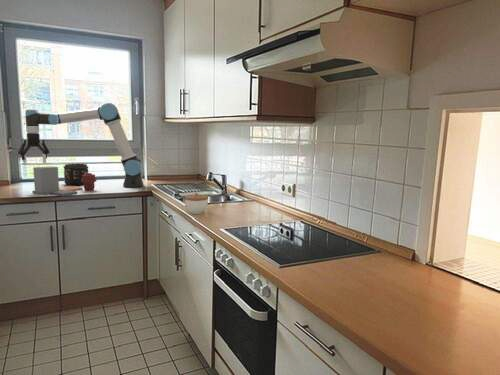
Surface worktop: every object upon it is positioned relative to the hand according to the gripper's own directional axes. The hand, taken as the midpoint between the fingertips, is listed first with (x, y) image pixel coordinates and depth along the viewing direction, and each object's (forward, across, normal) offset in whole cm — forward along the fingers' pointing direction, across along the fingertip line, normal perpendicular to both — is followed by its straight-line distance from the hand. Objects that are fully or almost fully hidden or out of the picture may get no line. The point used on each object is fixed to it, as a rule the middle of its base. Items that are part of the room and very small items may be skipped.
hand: (35, 164), depth 253 cm
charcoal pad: (+19, -4, +25) cm, 31 cm away
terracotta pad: (+19, -15, +12) cm, 27 cm away
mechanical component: (+19, -23, +25) cm, 39 cm away
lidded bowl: (+19, -10, +131) cm, 132 cm away
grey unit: (+19, 0, +12) cm, 22 cm away
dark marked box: (+19, -36, -7) cm, 41 cm away
